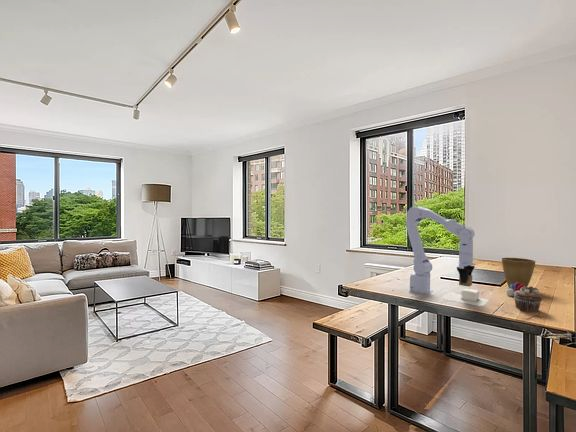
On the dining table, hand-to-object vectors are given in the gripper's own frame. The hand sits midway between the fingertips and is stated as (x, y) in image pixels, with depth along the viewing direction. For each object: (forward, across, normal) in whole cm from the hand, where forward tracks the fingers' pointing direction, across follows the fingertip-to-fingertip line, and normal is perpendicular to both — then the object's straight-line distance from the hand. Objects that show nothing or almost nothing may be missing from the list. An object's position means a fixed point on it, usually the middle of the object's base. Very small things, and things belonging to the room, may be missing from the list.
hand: (465, 281), depth 157 cm
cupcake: (+9, +3, -24) cm, 25 cm away
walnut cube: (+2, 0, 0) cm, 2 cm away
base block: (+8, +2, -2) cm, 9 cm away
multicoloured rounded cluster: (+9, +23, -18) cm, 30 cm away
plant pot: (+9, +42, -14) cm, 45 cm away
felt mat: (+8, 0, 0) cm, 9 cm away
